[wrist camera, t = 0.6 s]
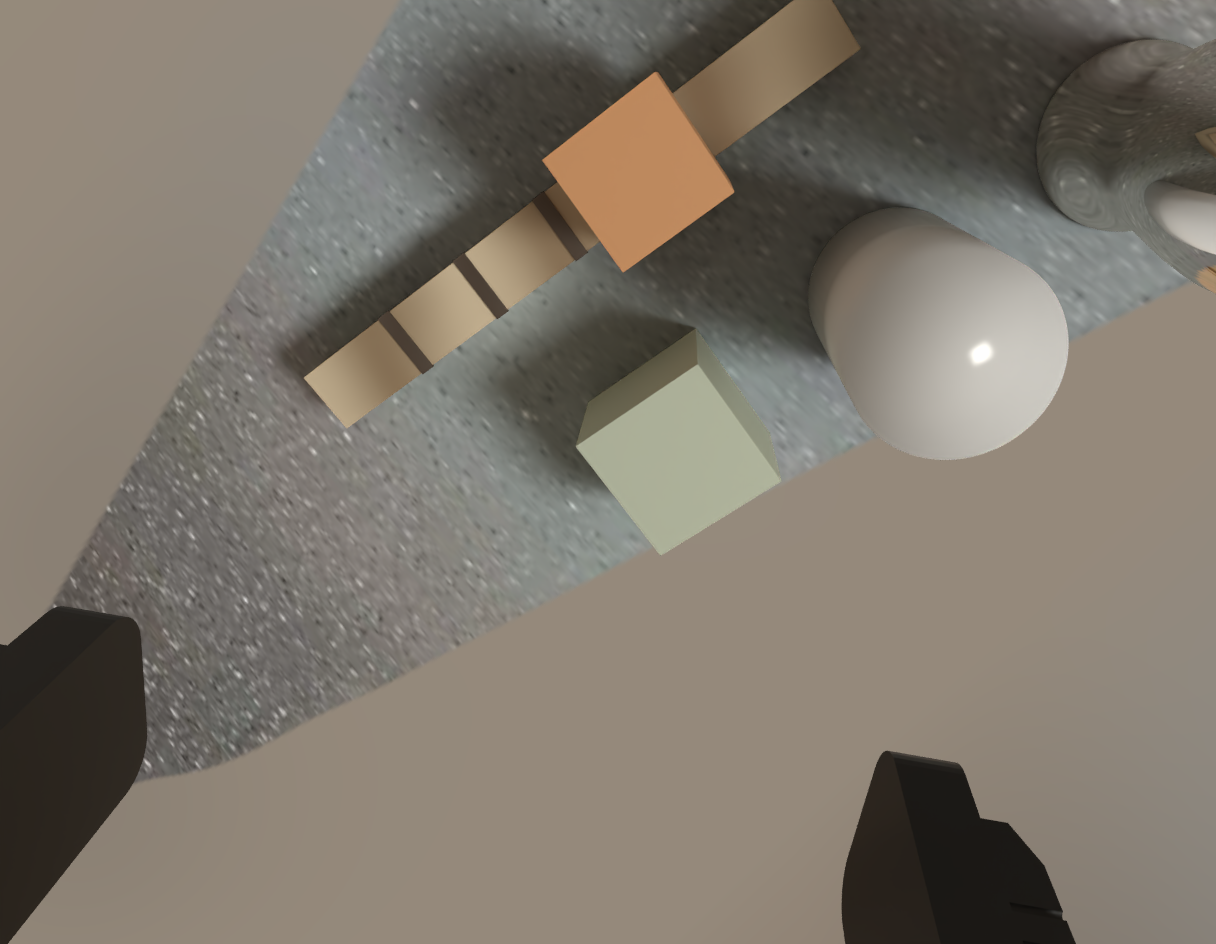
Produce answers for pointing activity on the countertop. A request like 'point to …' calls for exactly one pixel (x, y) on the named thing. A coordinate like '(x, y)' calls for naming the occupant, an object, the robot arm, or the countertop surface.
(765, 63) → the rail
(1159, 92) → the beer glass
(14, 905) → the robot arm
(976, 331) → the grey rounded cylinder
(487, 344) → the countertop surface
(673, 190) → the block
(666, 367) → the sage block
